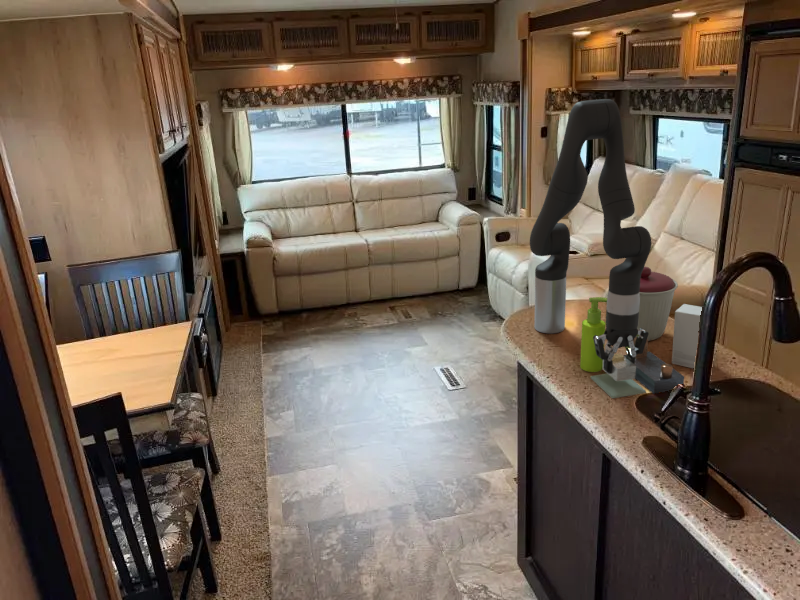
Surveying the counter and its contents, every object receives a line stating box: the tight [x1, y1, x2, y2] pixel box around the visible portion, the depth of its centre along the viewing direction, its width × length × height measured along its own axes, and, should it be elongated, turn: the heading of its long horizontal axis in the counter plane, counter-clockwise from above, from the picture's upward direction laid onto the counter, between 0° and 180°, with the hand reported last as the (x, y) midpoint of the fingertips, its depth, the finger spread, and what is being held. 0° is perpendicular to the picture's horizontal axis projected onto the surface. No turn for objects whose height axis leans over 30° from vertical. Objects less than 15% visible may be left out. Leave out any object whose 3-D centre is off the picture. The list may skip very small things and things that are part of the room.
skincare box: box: [671, 303, 703, 369], centre depth 161 cm, size 8×7×16 cm
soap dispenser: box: [579, 296, 607, 373], centre depth 162 cm, size 6×7×20 cm
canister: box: [636, 266, 679, 341], centre depth 179 cm, size 18×18×21 cm
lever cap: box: [602, 353, 636, 381], centre depth 154 cm, size 7×5×4 cm
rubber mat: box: [590, 373, 647, 399], centre depth 156 cm, size 11×9×1 cm
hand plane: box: [622, 337, 685, 395], centre depth 157 cm, size 15×8×8 cm, turn 11°
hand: (618, 370), depth 154 cm, fingers closed on lever cap, 5 cm apart
